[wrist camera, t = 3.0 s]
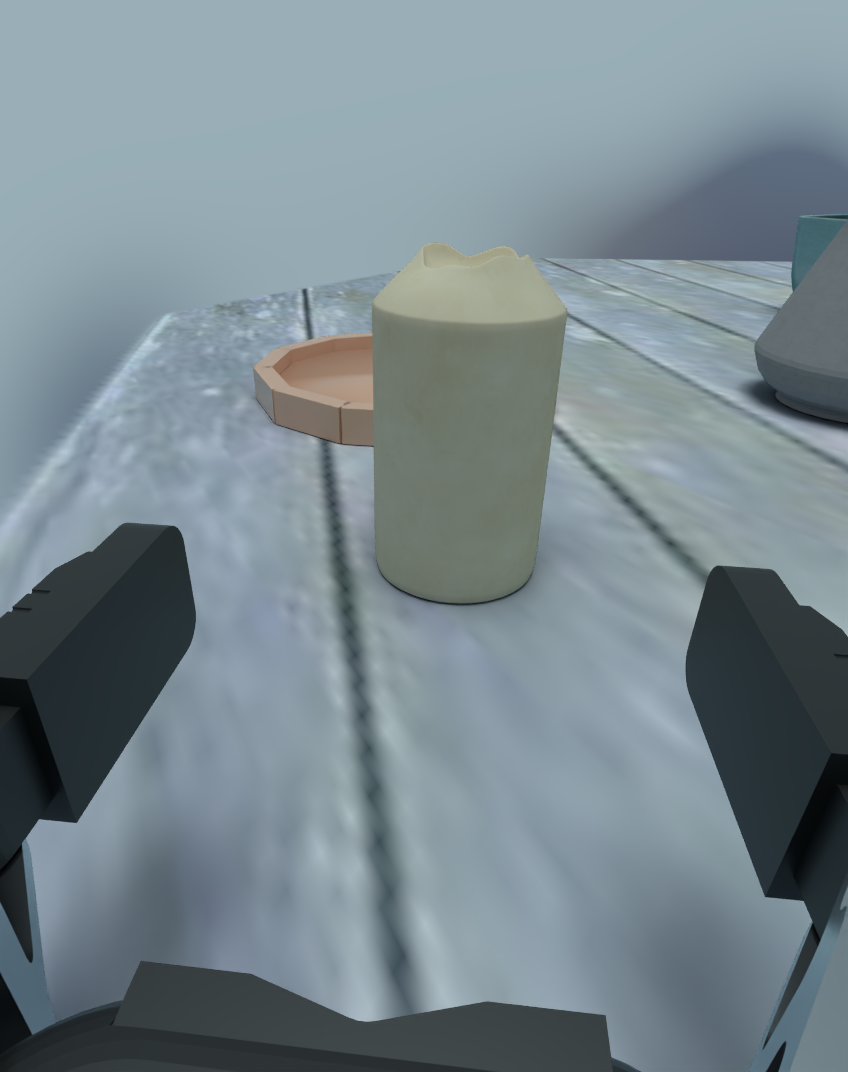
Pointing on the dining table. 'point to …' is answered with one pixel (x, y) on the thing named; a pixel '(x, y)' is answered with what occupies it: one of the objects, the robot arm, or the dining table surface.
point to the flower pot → (813, 242)
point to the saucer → (321, 387)
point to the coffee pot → (812, 339)
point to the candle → (463, 421)
